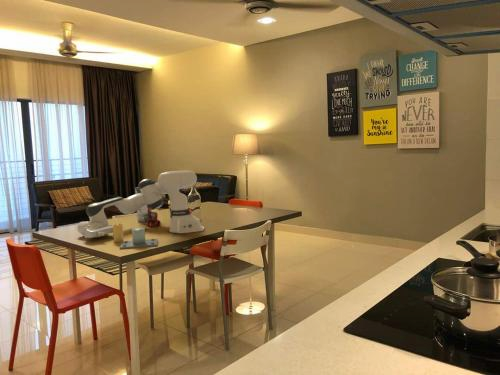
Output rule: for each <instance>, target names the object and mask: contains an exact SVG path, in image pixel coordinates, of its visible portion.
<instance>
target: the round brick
mask: <svg viewBox="0 0 500 375" xmlns="http://www.w3.org/2000/svg"><path fill="white" fill-rule="evenodd" d="M112 225H113V234H112V235H113V243H122V242H123V241H125V240H124V227H123V226H124V225H123V224H122V223H121V222H119V223H117V222H115V223H114V224H112Z"/></svg>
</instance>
